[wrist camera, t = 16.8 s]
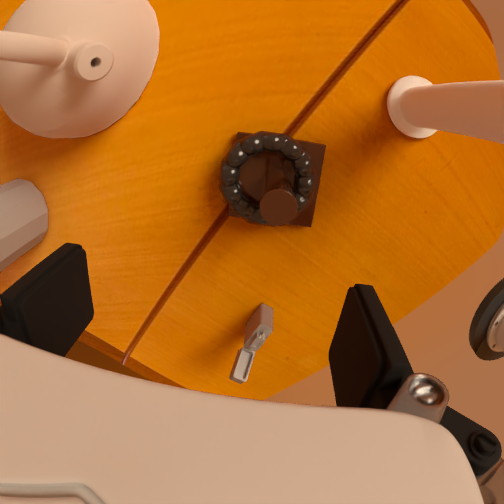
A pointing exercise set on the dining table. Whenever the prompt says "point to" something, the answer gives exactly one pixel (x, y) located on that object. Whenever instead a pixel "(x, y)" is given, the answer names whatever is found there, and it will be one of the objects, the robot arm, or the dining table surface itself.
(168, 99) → the dining table surface
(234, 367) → the lighter
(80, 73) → the kettle
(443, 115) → the candle
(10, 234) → the jar
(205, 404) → the robot arm
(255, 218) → the studded rubber donut
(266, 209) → the square plate with peg
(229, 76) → the dining table surface
